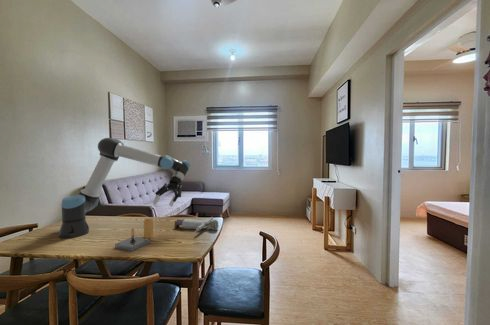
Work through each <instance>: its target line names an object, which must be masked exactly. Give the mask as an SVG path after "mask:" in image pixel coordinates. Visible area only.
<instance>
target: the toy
mask: <svg viewBox="0 0 490 325" xmlns="http://www.w3.org/2000/svg"><path fill="white" fill-rule="evenodd" d="M180 226H181V228H182V229H184V230H185V229H186V230H195V231H194V233H197V232H198V231H199V232H200V231H201V230H202V229H204V228H207V229H208V230H213V231H217V230H218V229H219V221H218V220H217V219H214V217H213V216H211V217H209V218H208V219H205V220H201V219H199V220H198V219H191V218H185V219H177V220H175V221H174V229H178V227H180Z"/></svg>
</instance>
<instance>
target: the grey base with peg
mask: <svg viewBox="0 0 490 325" xmlns="http://www.w3.org/2000/svg"><path fill="white" fill-rule="evenodd" d="M130 233H131V234H130V235H131V236H130V237H128V238H126V239H124V240H122V241H119V242H115V243H114V248H116V249H121V250H124V251H129V252H133V251H136V250H137V249H139V248H142V247H144V246H146V245H148V244H150V243H151V240H150V239H151V238H144V237H139V236H135V228H131V229H130Z"/></svg>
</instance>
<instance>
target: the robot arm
mask: <svg viewBox="0 0 490 325" xmlns="http://www.w3.org/2000/svg"><path fill="white" fill-rule="evenodd" d="M97 150H98V151H99V156H100V157H99V160H98V161H97V163H96V165H95V167H94V169H93V171H92V172H91V175H90V177H89V180H88V181H87V183H86V185H85V187H84V188H83V189H80V191H79V193H78V194H74V195H69V196H66V197H64V198H62V200H61V220H62V221H61V225H60V229H59V231H58V237H59V239H61V238H62V239H70V238H77V237H81V236H84V235H86V234H89V232H90V227H89V224H88V223H87V219H86V213H88V212H89V211H92V210H94V209H95V208H96V207H97V206H99V205H98V204H99V202H100V201H99V198H100V196H101V195H100V191H101V188H102V187H103V185H104V182H105V181H106V178H107V176H108V174H109V173H110V171H111V168H112V167H113V165H114V163H115V162H118V160H119V158H120V157H121V158H123V159H124V158H125V159H128V160H131V161H136V162H139V163H143V164H148V165H152V166H155V167H158V168H162V169H164V170H169V169H170V170H172V171H174V173H173V174H172V176H171V178H170V179H169V182H168V184H167V182H166V183H164V184H163V185H162V186H161V187H160V188H159V189H158V190H157V191H155V193H154V195H155V197H154V200H153V201H152V204H153V205H154V206H157V204H158V202H159V200H160V199H161V196H163V195H164V194H166V193H167V192H169V191H170V192H171V191H172V192H173V193H174V195H173V196H172V198H171V200H170V202H169V203H168V204H169V206H170V207H171V208H173V206H174V204H175V203H176V201H178V200H177V199H179V198H182V190H183V189H182V188H183V185H182V182H183V180H184V179H185V176H186V175H187V173H188V172H189V170H190V167H191V164H190V162H189V161H187V160H183V159H182V160H181V161H179V160H177V159H175V158H173V157H172V156H170V155H167V154H165V155H161V154H160V155H159V154H157V153H153V152H150V151H146V150H141V149H139V148H135V147H131V146H127V145H125V144H124V142H122V141H121V140H119V139H117V138H112V137H104V138H102V139H101V140H99V141H98V144H97Z"/></svg>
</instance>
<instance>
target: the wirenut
mask: <svg viewBox="0 0 490 325" xmlns="http://www.w3.org/2000/svg"><path fill="white" fill-rule="evenodd" d="M153 237H154V219H153V218H151V217H148V218H145V219H144V220H143V238H146V239H152V238H153Z"/></svg>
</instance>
